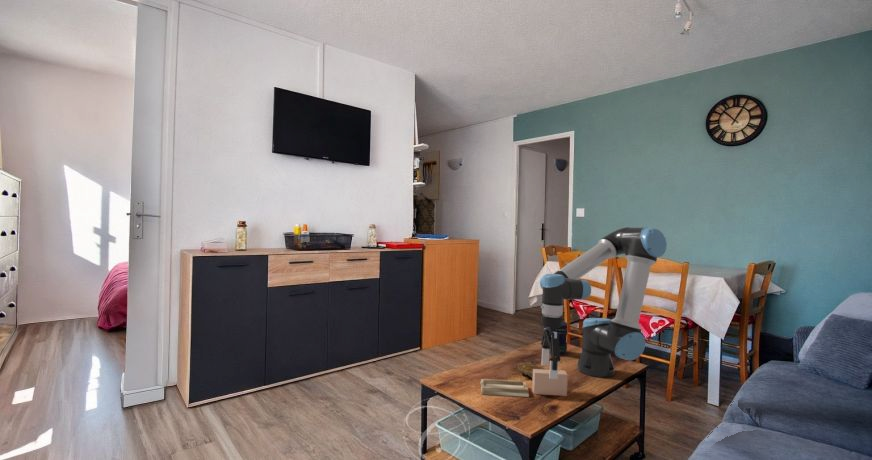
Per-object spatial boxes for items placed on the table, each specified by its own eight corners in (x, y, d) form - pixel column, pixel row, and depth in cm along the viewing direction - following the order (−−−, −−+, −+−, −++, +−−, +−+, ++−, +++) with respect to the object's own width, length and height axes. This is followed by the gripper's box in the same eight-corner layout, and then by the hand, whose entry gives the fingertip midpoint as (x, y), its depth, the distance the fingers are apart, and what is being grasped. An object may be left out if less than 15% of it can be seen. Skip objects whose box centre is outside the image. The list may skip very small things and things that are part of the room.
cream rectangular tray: (480, 383, 153) (480, 377, 153) (524, 385, 152) (524, 380, 152) (482, 394, 143) (482, 388, 143) (528, 396, 142) (529, 391, 142)
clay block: (564, 391, 149) (564, 370, 148) (566, 396, 145) (567, 374, 144) (532, 389, 149) (532, 368, 149) (534, 394, 145) (534, 372, 145)
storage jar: (550, 355, 191) (551, 325, 191) (543, 349, 200) (544, 320, 200) (570, 355, 191) (571, 325, 191) (562, 349, 201) (563, 320, 201)
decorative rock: (508, 373, 167) (537, 386, 156) (509, 363, 167) (537, 376, 155) (526, 366, 174) (554, 378, 163) (526, 357, 174) (554, 368, 162)
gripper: (535, 308, 159) (532, 360, 159) (549, 322, 134) (546, 383, 134) (553, 309, 159) (551, 361, 159) (571, 323, 134) (568, 385, 134)
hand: (548, 371), depth 147 cm, fingers open, 13 cm apart
